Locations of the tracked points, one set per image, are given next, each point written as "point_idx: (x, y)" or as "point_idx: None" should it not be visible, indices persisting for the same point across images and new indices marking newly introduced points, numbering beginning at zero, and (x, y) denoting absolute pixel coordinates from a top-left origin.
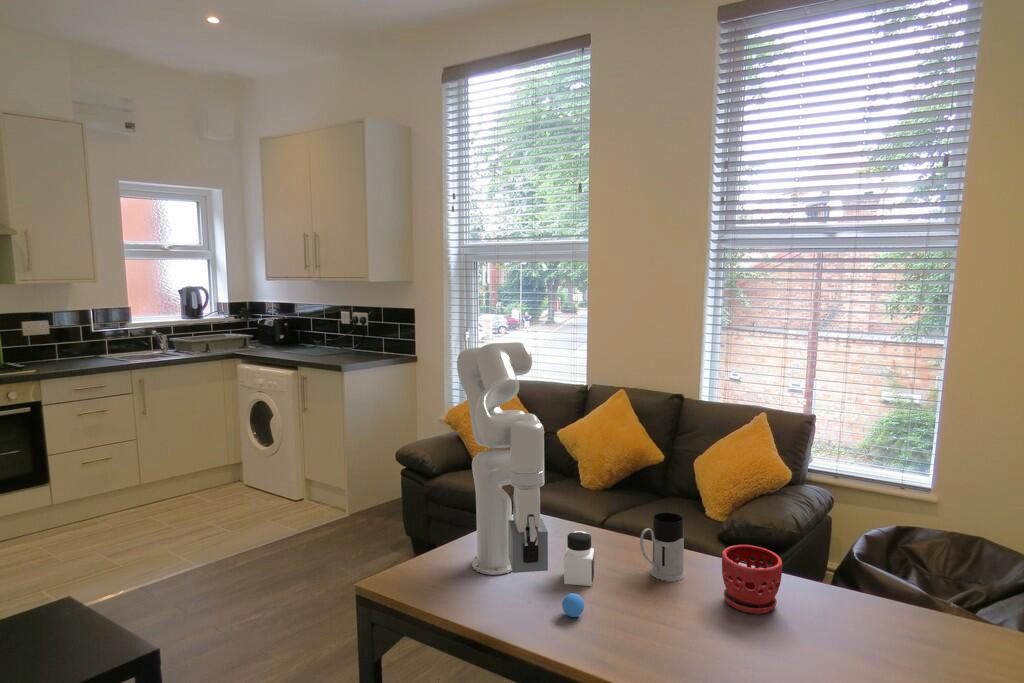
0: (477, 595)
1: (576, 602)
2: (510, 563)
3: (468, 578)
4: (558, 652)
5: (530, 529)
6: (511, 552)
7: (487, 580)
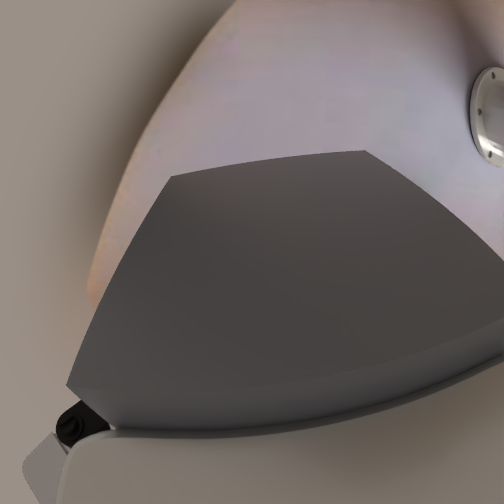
0: (390, 43)
1: None
2: (282, 158)
3: (461, 44)
4: (124, 232)
5: (36, 495)
6: (218, 205)
7: (453, 83)
